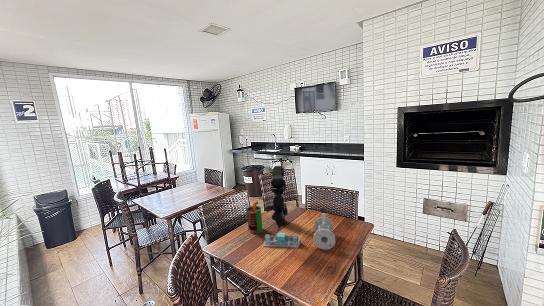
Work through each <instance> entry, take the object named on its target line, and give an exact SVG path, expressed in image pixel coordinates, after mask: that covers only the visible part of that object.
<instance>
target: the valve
mask: <svg viewBox="0 0 544 306" xmlns="http://www.w3.org/2000/svg"><path fill="white" fill-rule="evenodd" d="M320 211H321V213H320V214H321V216H320V217H317V218H316V219H315V220H314V223H313V229H314V231H315V232H314V234H313V243H314V245H315V246H316V247H317V248H319V249H320V250H325V251H326V250H330V249H332V248H333V247H334V246H335V244H336V235H335V234H334V233H333V231H334V223H333V221H332V220H331V218H329V217H326V209H325V208H320Z"/></svg>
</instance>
